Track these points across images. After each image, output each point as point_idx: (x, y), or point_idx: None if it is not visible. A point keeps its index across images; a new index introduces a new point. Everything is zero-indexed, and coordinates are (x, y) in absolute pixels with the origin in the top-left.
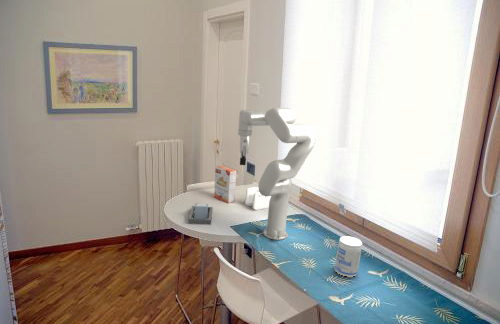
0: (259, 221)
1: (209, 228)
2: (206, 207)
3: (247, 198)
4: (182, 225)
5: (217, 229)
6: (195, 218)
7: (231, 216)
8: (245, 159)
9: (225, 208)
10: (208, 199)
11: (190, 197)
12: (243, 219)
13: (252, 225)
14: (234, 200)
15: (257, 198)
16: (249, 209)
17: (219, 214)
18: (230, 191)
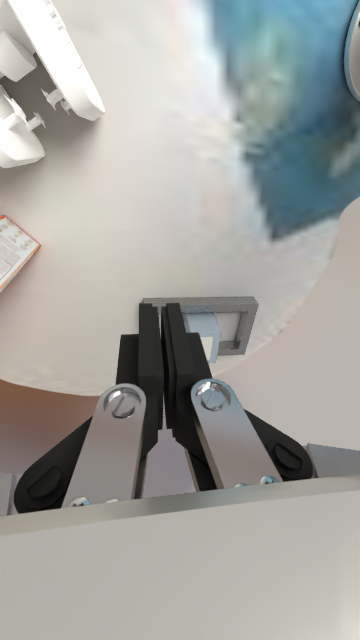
0: (241, 101)
1: (278, 298)
2: (220, 333)
3: (32, 151)
4: (250, 354)
5: (288, 278)
6: (242, 340)
7: (187, 234)
8: (192, 362)
9: (106, 256)
10: (25, 317)
11: (32, 365)
12: (216, 185)
13: (279, 149)
14: (3, 217)
15: (87, 81)
16: (88, 139)
17: (171, 275)
18: (11, 259)
